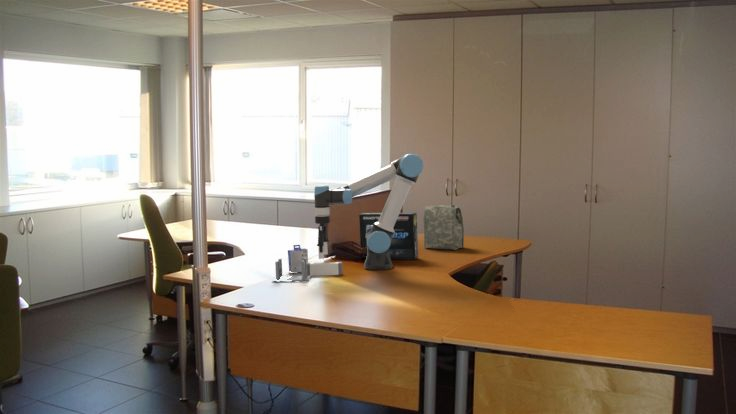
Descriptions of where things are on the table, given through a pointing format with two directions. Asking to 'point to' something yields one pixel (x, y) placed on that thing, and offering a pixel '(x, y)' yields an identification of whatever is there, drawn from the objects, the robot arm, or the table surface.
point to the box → (395, 234)
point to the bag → (443, 227)
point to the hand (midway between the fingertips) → (323, 256)
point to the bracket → (296, 277)
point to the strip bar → (325, 268)
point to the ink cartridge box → (296, 258)
